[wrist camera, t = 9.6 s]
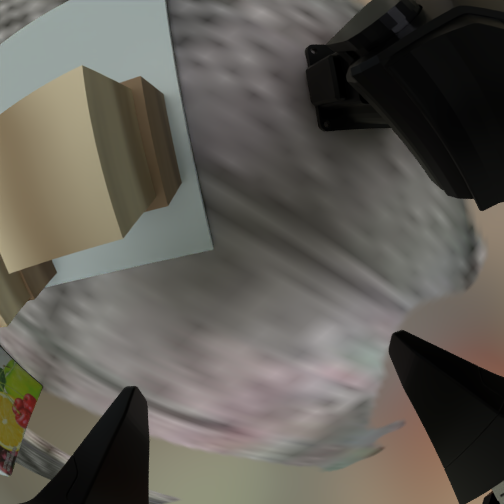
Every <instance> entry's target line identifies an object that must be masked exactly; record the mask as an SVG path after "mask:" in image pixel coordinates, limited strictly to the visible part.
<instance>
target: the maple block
mask: <svg viewBox="0 0 504 504" xmlns="http://www.w3.org/2000/svg"><path fill="white" fill-rule="evenodd" d="M155 198H156V195H155V191H154V187H153V183H152V180H151V176H150V172H149V168H148V164H147V160H146V156H145V152H144V147H143V143H142V139H141V134H140V130H139V125H138V120H137V115H136V110H135V105H134V100H133V95H132V89H130V88H128V87H126V86H124V85H122V84H120V83H119V82H117V81H115V80H113V79H110V78H108V77H106V76H104V75H102V74H100V73H98V72H96V71H94V70H92V69H90V68H87V67H85V66H83V65H81V66H79V67H77V68H75V69H73V70H71V71H69V72H67V73H65V74H63V75H61V76H59V77H58V78H56V79H54V80H52V81H50V82H49V83H47V84H45V85H43V86H42V87H40V88H38V89H37V90H35V91H34V92H32V93H30V94H29V95H27V96H26V97H24V98H23V99H21V100H20V101H18V102H17V103H15V104H14V105H12V106H11V107H9V108H8V109H7V110H5V111H4V112H3V113H1V114H0V254H1V256H2V259H3V261H4V263H5V266H6V268H7V270H8V272H9V274H10V273H13V272H16V271H19V270H22V269H25V268H28V267H31V266H34V265H37V264H40V263H43V262H46V261H49V260H53V259H56V258H59V257H62V256H66V255H69V254H72V253H75V252H79V251H82V250H86V249H89V248H92V247H96V246H99V245H103V244H106V243H110V242H114V241H117V240H121V239H123V238H124V237H125V236H126V234H127V233H128V232H129V231H130V229H131V228H132V227H133V225H134V224H135V223H136V222H137V220H138V219H139V218H140V216H141V215H142V214H143V213H144V211H145V210H146V209H147V208H148V207H149V205H150V204H151V203H152V202H153V201H154V199H155Z"/></svg>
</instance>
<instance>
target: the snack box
mask: <svg viewBox="0 0 504 504" xmlns="http://www.w3.org/2000/svg"><path fill="white" fill-rule="evenodd" d="M42 388H43V387H42V385H41V384H39V383H38V382H37V381H36V380H35V379H34V378H32V377H31V376H30V375H29V374H28V373H27V372H26V371H25V370H23V369H22V368H21V367H20V366H19V365H18V364H17V363H16V362H15V361H14V360H13V359H12V358H11V357H10V356H9V355H8V354H7V353H6V352H5V351H4V350H3V349H2V348H1V347H0V474H1V475H4V476H9V477H10V476H11V475H12V472H13V469H14V465H15V462H16V458H17V455H18V452H19V449H20V445H21V442H22V439H23V437H24V434H25V431H26V428H27V425H28V422H29V420H30V417H31V414H32V412H33V410H34V407H35V404H36V402H37V400H38V397H39V395H40V393H41V390H42Z"/></svg>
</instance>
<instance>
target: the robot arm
mask: <svg viewBox="0 0 504 504" xmlns="http://www.w3.org/2000/svg"><path fill="white" fill-rule="evenodd" d="M311 49H314V50H315V52H316V54H313V53H312V52H311ZM306 57H307V62H308V69H307V70H306V74H307V79H308V85H309V90H310V96H311V102H312V103H313V104H314V105H315V106H316V112H317V119H318V125H319V128H320V129H321V130H323V131H335V130H349V129H367V128H392V129H393V131H394V132H395V133H396V134H397V135H398V137H399V138H400V139H401V140H402V141H403V143H404V144H405V145H406V146H407V148H408V149H409V150H410V152H411V153H412V154H413V155H414V157H415V158H416V159H417V161H418V162H419V164H420V165H421V166H422V168H423V169H424V170H425V172H426V173H427V175H428V176H429V178H430V179H431V180H432V181H433V182H434V183H435V184H436V185H437V186H438V187H439V188H441V189H442V190H444V191H445V193H446V194H447V195H448V196H452V197H455V198H460V199H474V200H475V202H476V204H477V206H478V208H479V210H480V211H484V210H486V209H488V208H490V207H492V206H494V205H496V204H498V203H500V202H504V0H372V1H371V2H369V3H368V4H367V5H366V6H365V7H364V8H363V9H362V10H360V11H359V12H358V13H357V14H356V15H355V16H354V17H353V18H352V19H351V20H350V21H349V22H348V23H347V24H346V25H345V26H344V27H343V28H342V29H341V30H340V31H339V32H338V33H337V34H336V35H335V36H334V37H333V38H332V39H331V40H330V41H329V42H328V43H327V44H326V45H310V46H308V47H307V48H306ZM325 121H327V122H328V127H325V126H324V122H325ZM389 355H390V358H391V360H392V362H393V365H394V367H395V369H396V372H397V374H398V376H399V379H400V381H401V383H402V386H403V388H404V390H405V392H406V394H407V395H408V397H409V399H410V401H411V403H412V405H413V406H414V409H415V410H416V412H417V414H418V416H419V418H420V420H421V422H422V424H423V426H424V428H425V430H426V432H427V434H428V436H429V438H430V440H431V442H432V444H433V446H434V448H435V450H436V452H437V454H438V456H439V458H440V460H441V463H442V465H443V467H444V468H445V472H446V474H447V476H448V478H449V481H450V482H451V485H452V488H453V490H454V492H455V495H456V497H457V499H458V502H459V504H466V503H468V502H470V501H472V500H474V499H475V498H477V497H479V496H480V495H482V494H484V493H486V492H487V491H489V490H490V489H492V492H491V493H489V494H488V495H487V496H486V497H485V498H484V500H483V504H504V377H502V376H499V375H496V374H494V373H492V372H490V371H488V370H485V369H483V368H481V367H478V366H477V365H475V364H472V363H471V362H469V361H466V360H464V359H462V358H460V357H458V356H456V355H454V354H452V353H450V352H448V351H446V350H443V349H442V348H439V347H437V346H435V345H433V344H431V343H429V342H427V341H425V340H423V339H420V338H419V337H417V336H415V335H412V334H410V333H408V332H406V331H404V330H400V331H397V332H395V333H393V334H392V336H391V341H390V345H389ZM148 478H149V426H148V406H147V401H146V399H145V397H144V396H143V395H142V393H141V392H140V390H139V389H138V387H136V386H127V387H125V388H124V389H123V390H122V392H121V393H120V394H119V395H118V397H117V398H116V399H115V400H114V402H113V403H112V404H111V406H110V407H109V408H108V409H107V411H106V412H105V413H104V415H103V416H102V417H101V418H100V420H99V421H98V422H97V424H96V425H95V426H94V427H93V429H92V430H91V431H90V433H89V434H88V435H87V437H86V438H85V439H84V441H83V442H82V443H81V444H80V446H79V447H78V448H77V450H76V451H75V452H74V454H73V455H72V456H71V457H70V459H69V460H68V461H67V463H66V464H65V465H64V466H63V468H62V469H61V470H60V471H59V472H58V473H57V474H56V476H55V477H54V478H53V479H52V480H51V481H50V482H49V483H48V484H47V485H46V486H45V487H44V488H43V490H41V492H40V493H38V494H37V496H35V497H34V498H33V499H31V500H30V501H27V502H25V503H20V504H149V488H148V485H149V484H148V483H149V479H148Z"/></svg>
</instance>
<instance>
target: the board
mask: <svg viewBox="0 0 504 504" xmlns="http://www.w3.org/2000/svg"><path fill="white" fill-rule="evenodd" d="M81 65H83V66H85V67H87V68H90V69H92V70H94V71H96V72H98V73H100V74H102V75H104V76H106V77H108V78H110V79H113V80H115V81H117V82H119V83H121V82H124V81H127V80H129V79H133V78H136V77H139V76H141V77H143V78H144V79H145V80H146V81H148V82H149V83H150V84H152V85H153V86H154V87H155V88H157V89H158V90H159V91H160V92H162V93H163V94H164V99H165V104H166V110H167V115H168V120H169V125H170V130H171V135H172V140H173V145H174V149H175V154H176V159H177V163H178V168H179V172H180V177H181V181H182V184H181V185H180V187H179V189H178V190H177V192H176V194H175V195H174V197H173V199H172V200H171V202H170V204H169V205H168V206H167V207H163V208H159V209H155V210H151V211H147V212H144V213H143V214H142V215H141V216H140V218H139V219H138V220H137V222H136V223H135V224H134V225H133V227H132V228H131V229H130V231H129V232H128V233H127V234H126V236H125V237H124V238H123V239H121V240H117V241H114V242H110V243H106V244H103V245H99V246H96V247H92V248H89V249H86V250H82V251H79V252H75V253H72V254H69V255H66V256H62V257H59V258H56V259H53V260H52V262H53V264H54V266H55V269H56V271H57V273H56V275H55V276H54V277H53V278H52V279H51V280H50V281H49V283H48V284H47V285H46V286H45V287H49V286H53V285H57V284H62V283H66V282H70V281H75V280H79V279H83V278H88V277H92V276H96V275H101V274H105V273H110V272H114V271H119V270H123V269H127V268H132V267H136V266H141V265H145V264H150V263H154V262H159V261H164V260H168V259H173V258H177V257H182V256H186V255H191V254H196V253H200V252H205V251H210V250H213V241H212V237H211V233H210V229H209V224H208V220H207V216H206V211H205V207H204V203H203V198H202V194H201V189H200V185H199V180H198V176H197V171H196V166H195V162H194V157H193V152H192V147H191V142H190V137H189V132H188V127H187V122H186V117H185V112H184V107H183V101H182V96H181V90H180V85H179V79H178V74H177V68H176V62H175V56H174V50H173V43H172V37H171V31H170V24H169V17H168V10H167V3H166V0H69V1H68V2H66V3H64V4H62V5H60V6H58V7H56V8H54V9H53V10H51V11H49V12H47V13H46V14H44V15H42V16H41V17H39V18H37V19H36V20H34V21H33V22H31V23H30V24H28V25H27V26H25V27H24V28H22V29H21V30H19V31H18V32H16V33H15V34H14V35H12V36H11V37H10V38H8V39H7V40H6V41H4V42H3V43H2V44H0V114H1V113H3V112H4V111H5V110H7V109H8V108H9V107H11V106H12V105H14V104H15V103H17V102H18V101H20V100H21V99H23V98H24V97H26V96H27V95H29V94H30V93H32V92H34V91H35V90H37V89H38V88H40V87H42V86H43V85H45V84H47V83H49V82H50V81H52V80H54V79H56V78H58V77H59V76H61V75H63V74H65V73H67V72H69V71H71V70H73V69H75V68H77V67H79V66H81Z"/></svg>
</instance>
